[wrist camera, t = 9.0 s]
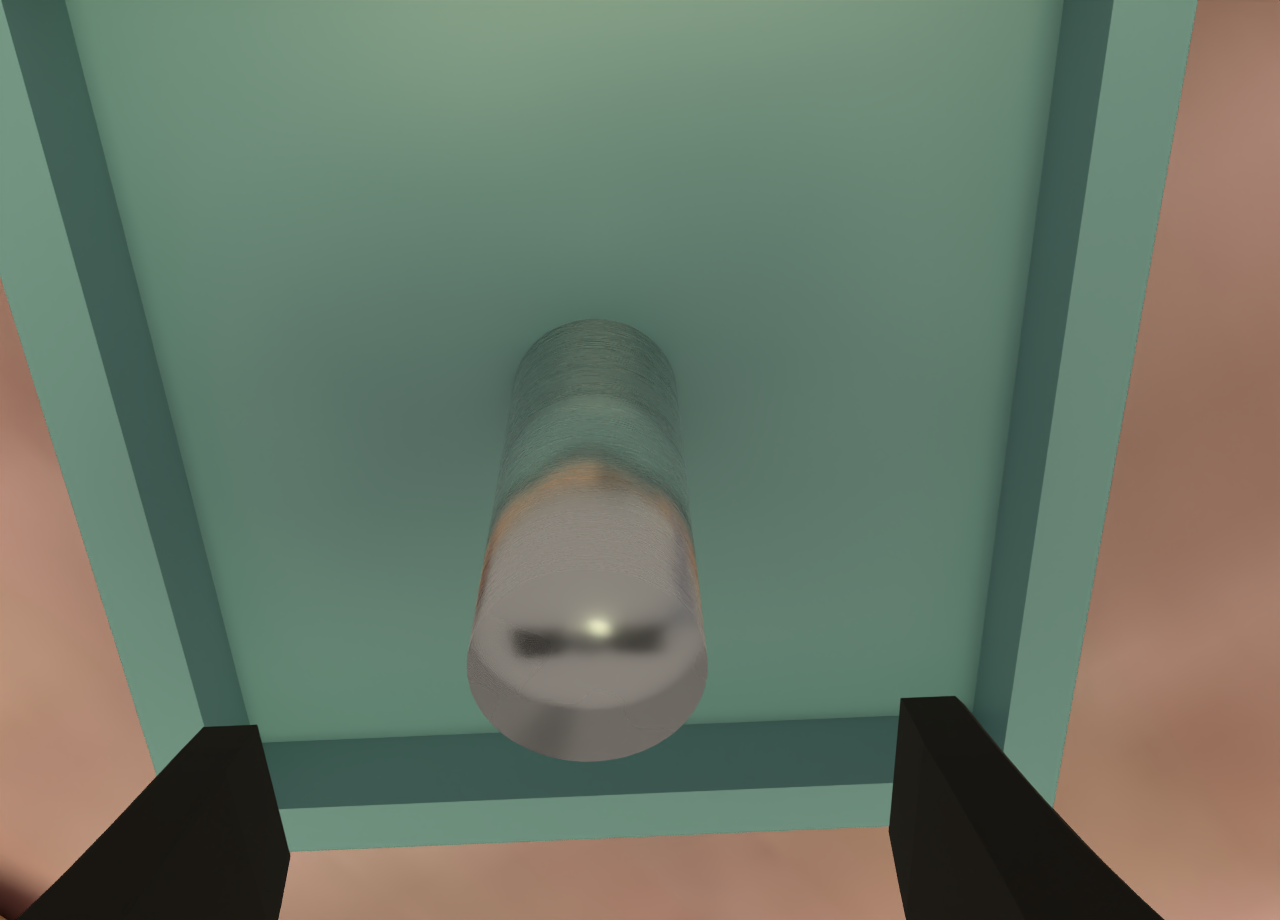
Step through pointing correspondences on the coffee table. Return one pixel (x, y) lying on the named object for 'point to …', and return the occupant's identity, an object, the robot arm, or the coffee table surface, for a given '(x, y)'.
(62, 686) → the coffee table surface
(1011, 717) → the tray
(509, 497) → the pin
